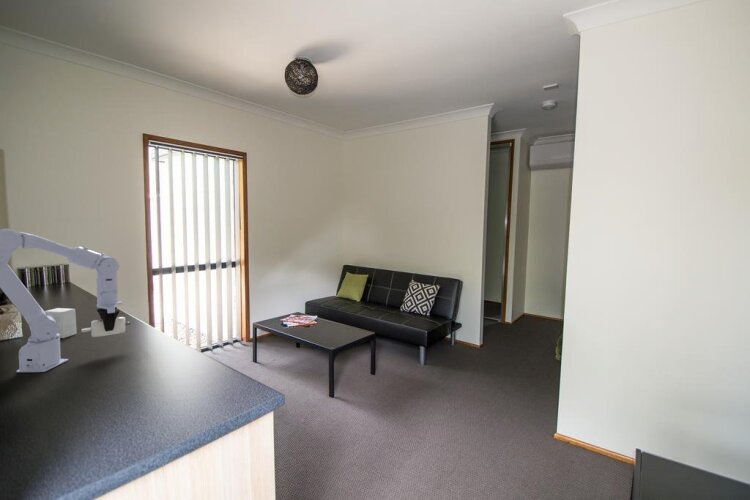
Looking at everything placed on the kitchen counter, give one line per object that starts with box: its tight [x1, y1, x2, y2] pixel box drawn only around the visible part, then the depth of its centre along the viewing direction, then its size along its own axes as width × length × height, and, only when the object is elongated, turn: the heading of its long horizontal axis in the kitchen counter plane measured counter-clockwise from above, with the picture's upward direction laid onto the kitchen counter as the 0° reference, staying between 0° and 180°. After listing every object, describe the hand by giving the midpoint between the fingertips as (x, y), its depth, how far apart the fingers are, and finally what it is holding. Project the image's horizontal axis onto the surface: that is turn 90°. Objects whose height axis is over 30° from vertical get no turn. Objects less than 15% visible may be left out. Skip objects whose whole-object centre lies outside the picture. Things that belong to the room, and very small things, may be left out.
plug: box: [81, 316, 131, 338], centre depth 121 cm, size 13×4×5 cm, turn 135°
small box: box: [44, 307, 77, 339], centre depth 138 cm, size 8×6×10 cm
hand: (108, 329), depth 122 cm, fingers closed on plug, 3 cm apart
